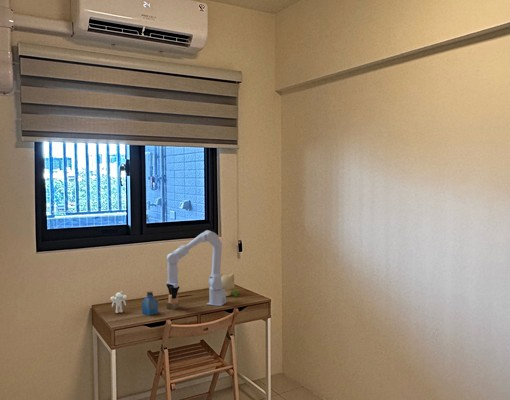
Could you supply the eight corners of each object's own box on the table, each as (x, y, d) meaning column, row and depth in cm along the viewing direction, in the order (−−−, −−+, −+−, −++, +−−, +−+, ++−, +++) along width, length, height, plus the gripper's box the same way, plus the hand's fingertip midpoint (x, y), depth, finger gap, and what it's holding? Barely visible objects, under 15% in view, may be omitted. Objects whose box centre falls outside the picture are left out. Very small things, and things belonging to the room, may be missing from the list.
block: (176, 300, 275) (176, 293, 275) (178, 302, 271) (178, 295, 271) (168, 301, 274) (168, 294, 273) (170, 303, 269) (170, 296, 269)
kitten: (239, 294, 304) (239, 271, 303) (237, 298, 294) (236, 274, 293) (217, 293, 306) (217, 270, 305) (213, 297, 296) (213, 273, 295)
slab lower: (178, 308, 274) (178, 304, 274) (174, 310, 269) (174, 307, 269) (171, 307, 276) (171, 303, 276) (166, 309, 271) (166, 306, 271)
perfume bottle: (151, 311, 267) (150, 290, 267) (158, 313, 263) (157, 291, 263) (142, 313, 262) (141, 292, 262) (149, 315, 259) (148, 294, 258)
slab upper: (178, 304, 274) (178, 301, 274) (174, 307, 269) (174, 303, 269) (171, 303, 276) (171, 300, 276) (166, 306, 271) (166, 302, 271)
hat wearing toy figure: (126, 310, 269) (125, 289, 269) (127, 311, 266) (127, 290, 265) (110, 312, 265) (109, 291, 265) (111, 314, 262) (111, 292, 261)
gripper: (162, 272, 276) (163, 295, 277) (168, 277, 263) (169, 301, 264) (174, 271, 279) (174, 293, 280) (181, 276, 266) (181, 299, 267)
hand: (173, 297), depth 272 cm, fingers open, 5 cm apart
